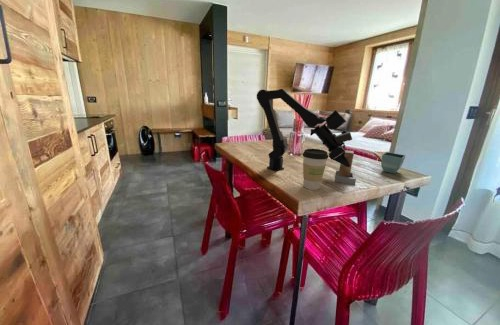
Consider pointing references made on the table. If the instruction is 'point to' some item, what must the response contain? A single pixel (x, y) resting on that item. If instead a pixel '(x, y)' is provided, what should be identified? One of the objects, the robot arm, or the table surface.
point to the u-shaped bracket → (345, 178)
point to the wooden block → (344, 169)
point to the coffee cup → (313, 167)
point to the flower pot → (392, 162)
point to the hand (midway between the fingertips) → (349, 163)
